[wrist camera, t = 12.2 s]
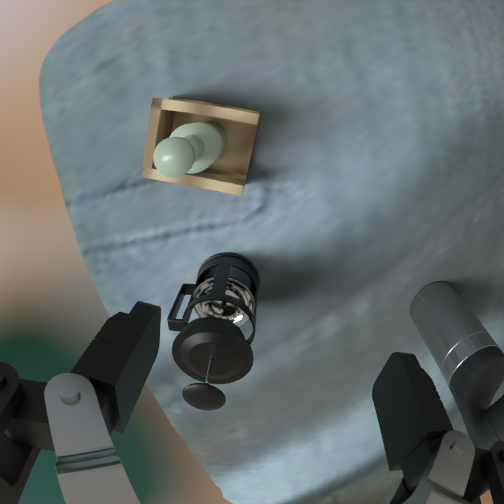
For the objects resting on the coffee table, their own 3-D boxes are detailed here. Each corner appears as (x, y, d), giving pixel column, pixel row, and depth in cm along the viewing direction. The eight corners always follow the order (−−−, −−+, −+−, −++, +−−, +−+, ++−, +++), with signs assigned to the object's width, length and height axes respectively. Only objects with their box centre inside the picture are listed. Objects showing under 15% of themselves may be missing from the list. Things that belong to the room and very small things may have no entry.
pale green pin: (231, 125, 38) (208, 131, 24) (223, 163, 40) (198, 193, 26) (191, 118, 37) (148, 122, 23) (184, 156, 40) (140, 182, 26)
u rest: (260, 112, 38) (259, 111, 31) (244, 184, 42) (240, 198, 36) (171, 97, 37) (153, 95, 31) (159, 168, 41) (140, 179, 35)
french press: (264, 253, 46) (262, 371, 25) (262, 307, 50) (258, 430, 29) (185, 250, 46) (129, 359, 26) (189, 303, 50) (149, 418, 30)
